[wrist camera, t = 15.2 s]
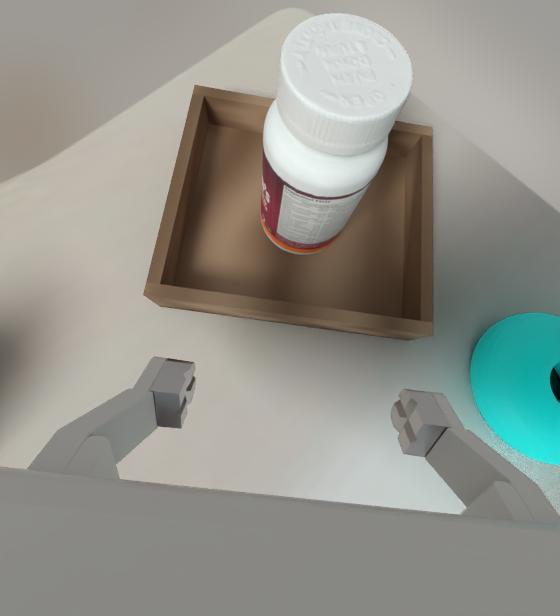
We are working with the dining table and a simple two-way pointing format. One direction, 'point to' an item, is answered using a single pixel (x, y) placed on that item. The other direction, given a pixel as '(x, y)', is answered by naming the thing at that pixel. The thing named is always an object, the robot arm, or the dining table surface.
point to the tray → (281, 264)
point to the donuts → (520, 383)
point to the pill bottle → (328, 126)
